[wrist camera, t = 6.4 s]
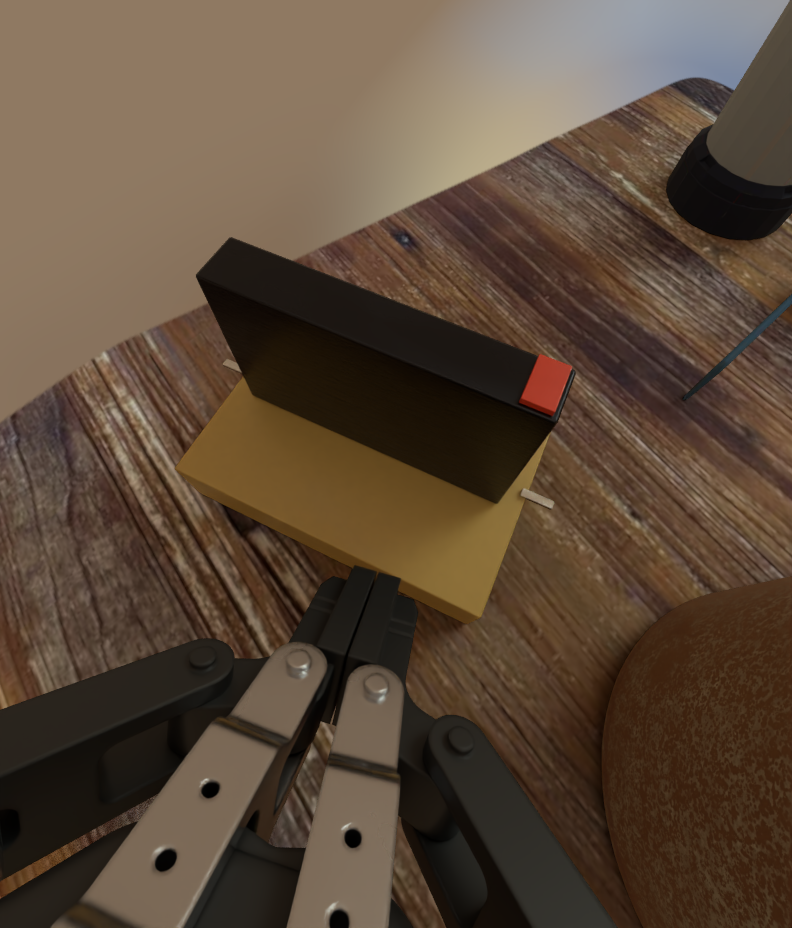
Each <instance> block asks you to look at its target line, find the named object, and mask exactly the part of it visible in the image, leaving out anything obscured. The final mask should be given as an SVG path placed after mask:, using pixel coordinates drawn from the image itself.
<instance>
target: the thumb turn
mask: <svg viewBox="0 0 792 928" xmlns="http://www.w3.org/2000/svg"><path fill="white" fill-rule="evenodd" d="M196 278H197V280H198V282H199V284H200V286H201V288H202V291H203V293H204V295H205V297H206V299H207V301H208V303H209V305H210V307H211V310H212V312H213V314H214V316H215V318H216V320H217V322H218V324H219V326H220V328H221V330H222V333H223V335H224V337H225V339H226V341H227V343H228V345H229V347H230V349H231V351H232V354H233V356H234V358H235V360H236V362H237V364H238V366H239V368H240V370H241V372H242V374H243V377H244V379H245V381H246V383H247V385H248V387H249V389H250V391H251V393H252V395H253V396H255V397H257V398H260V399H262V400H264V401H266V402H269V403H271V404H273V405H275V406H278V407H280V408H282V409H284V410H287V411H289V412H291V413H293V414H296V415H298V416H300V417H302V418H305V419H307V420H309V421H311V422H313V423H316V424H318V425H320V426H322V427H325V428H327V429H329V430H331V431H334V432H336V433H338V434H340V435H343V436H345V437H347V438H349V439H352V440H354V441H356V442H358V443H361V444H363V445H365V446H367V447H370V448H372V449H374V450H376V451H379V452H381V453H383V454H385V455H387V456H390V457H392V458H394V459H396V460H399V461H401V462H403V463H405V464H408V465H410V466H412V467H414V468H417V469H419V470H421V471H423V472H426V473H428V474H430V475H432V476H435V477H437V478H439V479H441V480H444V481H446V482H448V483H450V484H453V485H455V486H457V487H459V488H462V489H464V490H466V491H468V492H470V493H473V494H475V495H477V496H479V497H482V498H484V499H486V500H488V501H491V502H493V503H495V504H498V503H499V502H500V500H501V499H502V497H503V496H504V495H505V493H506V492H507V491H508V489H509V488H510V487H511V485H512V484H513V482H514V481H515V480H516V478H517V477H518V476H519V474H520V473H521V472H522V470H523V469H524V468H525V466H526V465H527V463H528V462H529V461H530V459H531V458H532V457H533V455H534V454H535V453H536V451H537V450H538V448H539V447H540V446H541V444H542V443H543V442H544V440H545V439H546V438H547V436H548V435H549V433H550V432H551V431H552V429H553V428H554V427H555V425H556V424H557V423H558V420H559V417H560V415H561V412H562V409H563V406H564V404H565V401H566V398H567V396H568V393H569V390H570V388H571V385H572V382H573V380H574V377H575V371H574V370H572V366H570V365H567V364H565V363H562V362H559V361H557V360H554V359H552V358H549V357H546V356H544V355H541V354H540V355H539V356H536V355H534V354H531V353H529V352H526V351H523V350H521V349H518V348H516V347H513V346H511V345H508V344H505V343H503V342H500V341H498V340H495V339H493V338H490V337H487V336H485V335H482V334H480V333H477V332H474V331H472V330H469V329H467V328H464V327H462V326H459V325H456V324H454V323H451V322H449V321H446V320H444V319H441V318H438V317H436V316H433V315H431V314H428V313H426V312H423V311H420V310H418V309H415V308H413V307H410V306H407V305H405V304H402V303H400V302H397V301H395V300H392V299H389V298H387V297H384V296H382V295H379V294H377V293H374V292H371V291H369V290H366V289H364V288H361V287H359V286H356V285H353V284H351V283H348V282H346V281H343V280H340V279H338V278H335V277H333V276H330V275H328V274H325V273H322V272H320V271H317V270H315V269H312V268H310V267H307V266H304V265H302V264H299V263H297V262H294V261H292V260H289V259H286V258H284V257H281V256H279V255H276V254H273V253H271V252H268V251H265V250H263V249H261V248H258V247H255V246H253V245H250V244H247V243H245V242H242V241H240V240H237V239H235V238H232V237H231V238H229V239H228V240H227V241H226V242H225V243H224V244H223V245H222V246H221V248H220V249H219V250H218V251H217V252H216V253H215V254H214V255H213V256H212V257H211V258H210V260H209V261H208V262H207V263H206V264H205V265H204V266H203V267H202V268H201V269H200V271H199V272H198V273H197V274H196Z"/></svg>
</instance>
